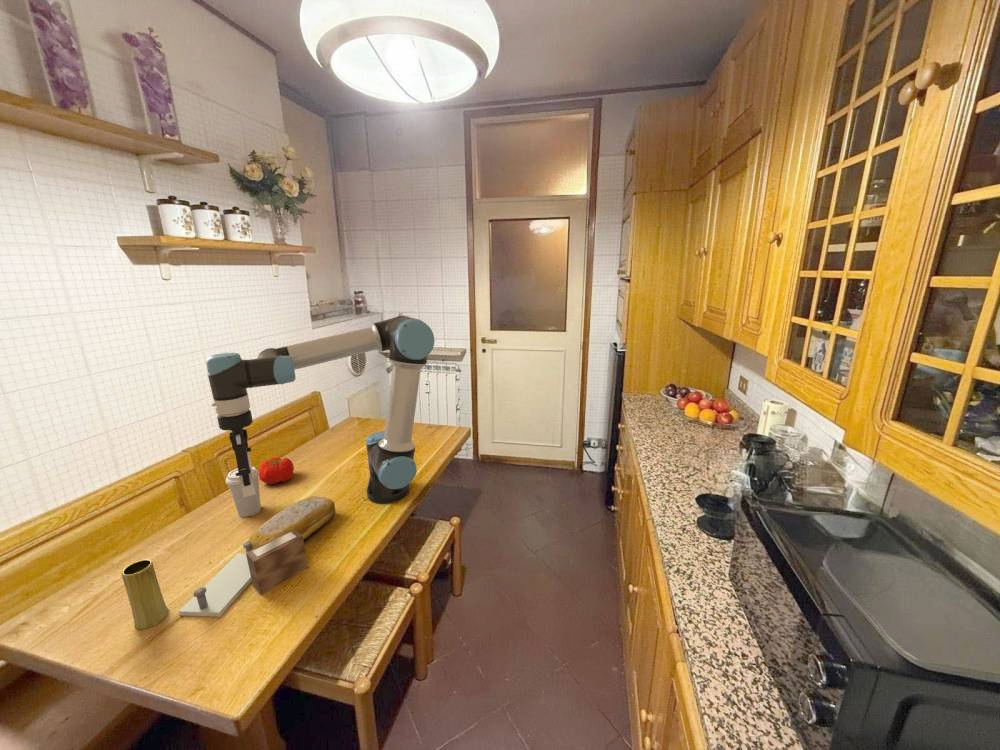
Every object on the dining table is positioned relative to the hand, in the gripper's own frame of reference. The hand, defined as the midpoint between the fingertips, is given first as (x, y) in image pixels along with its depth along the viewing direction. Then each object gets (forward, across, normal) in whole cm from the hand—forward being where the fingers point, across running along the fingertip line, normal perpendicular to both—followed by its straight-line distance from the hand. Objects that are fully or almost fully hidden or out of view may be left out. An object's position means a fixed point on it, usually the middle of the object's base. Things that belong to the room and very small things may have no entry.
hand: (248, 484), depth 110 cm
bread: (+22, -2, +9) cm, 24 cm away
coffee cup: (+22, -26, -2) cm, 34 cm away
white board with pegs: (+22, +10, -8) cm, 25 cm away
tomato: (+22, -45, +8) cm, 50 cm away
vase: (+22, +12, -23) cm, 34 cm away
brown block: (+22, +15, +4) cm, 26 cm away
